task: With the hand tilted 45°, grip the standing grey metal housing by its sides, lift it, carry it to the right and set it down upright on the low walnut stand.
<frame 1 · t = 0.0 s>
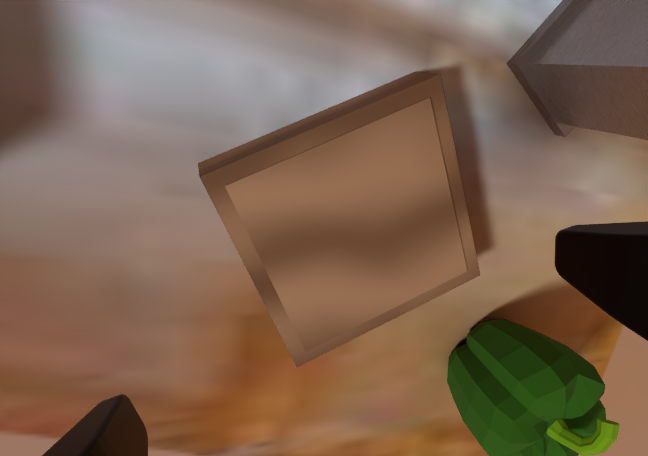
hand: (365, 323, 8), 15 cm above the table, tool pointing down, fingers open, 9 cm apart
housing: (568, 60, 25), on the table
stand: (345, 217, 24), on the table
bell pepper: (478, 349, 32), on the table
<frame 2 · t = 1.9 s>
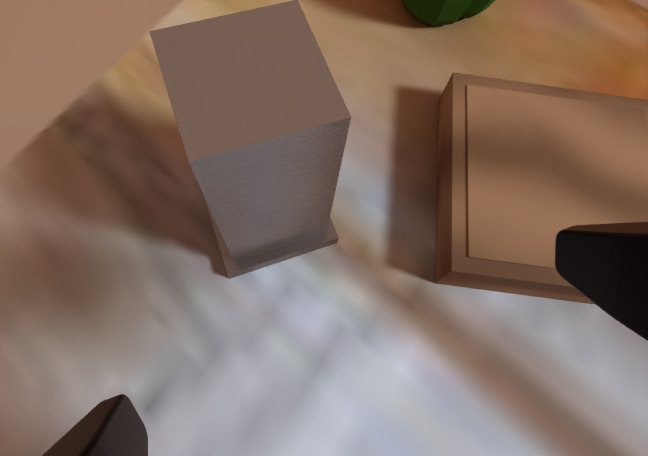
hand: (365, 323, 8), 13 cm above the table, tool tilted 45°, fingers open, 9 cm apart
housing: (267, 211, 24), on the table
stand: (537, 197, 25), on the table
bell pepper: (436, 0, 30), on the table
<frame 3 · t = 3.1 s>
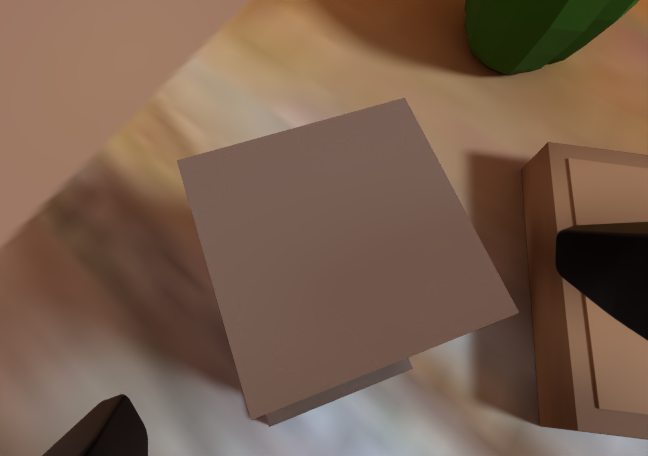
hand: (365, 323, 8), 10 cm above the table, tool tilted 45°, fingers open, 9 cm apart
housing: (315, 326, 18), on the table
bell pepper: (505, 42, 25), on the table
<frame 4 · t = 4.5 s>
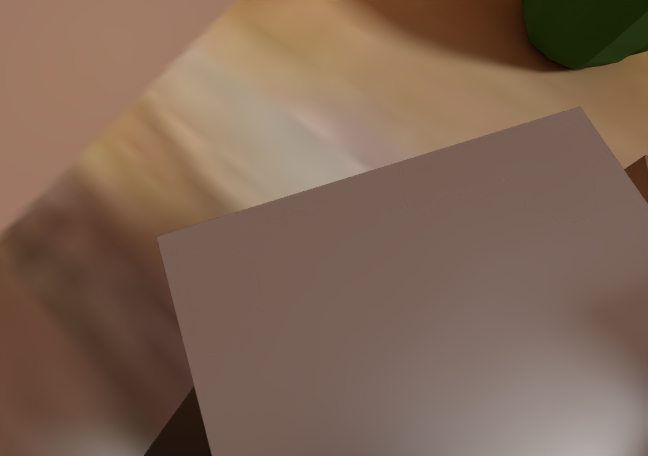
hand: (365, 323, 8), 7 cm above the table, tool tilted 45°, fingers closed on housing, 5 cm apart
housing: (351, 395, 14), on the table, touching gripper
bell pepper: (567, 30, 21), on the table
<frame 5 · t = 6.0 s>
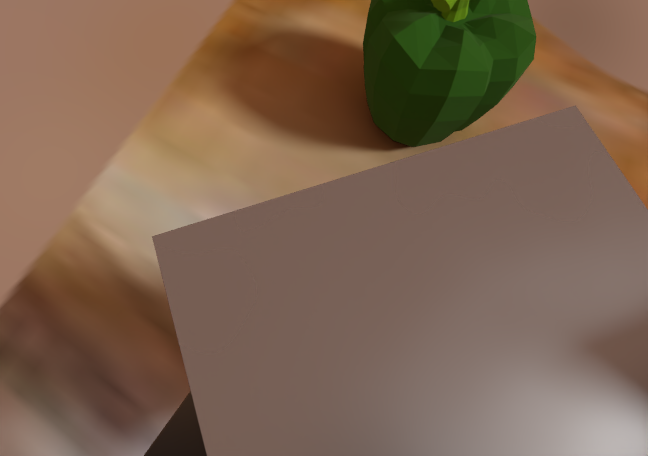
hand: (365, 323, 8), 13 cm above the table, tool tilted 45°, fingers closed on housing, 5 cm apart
housing: (350, 395, 14), point 7 cm above the table, touching gripper
bell pepper: (411, 110, 27), on the table
when the fingers open (10 cm above the table, at t = 7.6 s): housing drops 1 cm, resting on stand.
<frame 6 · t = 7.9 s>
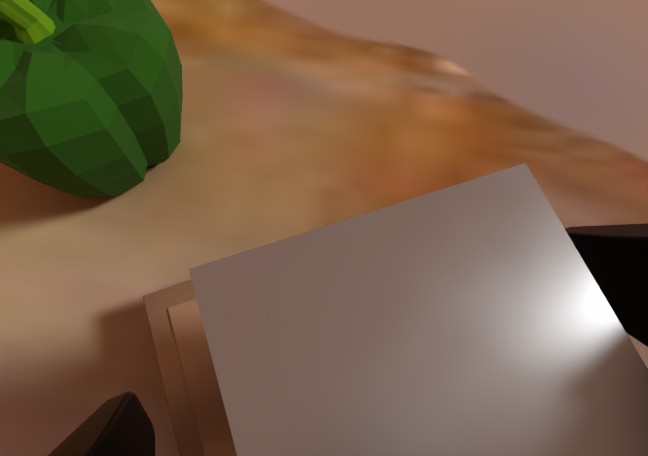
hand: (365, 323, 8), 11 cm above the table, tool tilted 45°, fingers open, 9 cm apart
housing: (347, 394, 15), point 3 cm above the table, touching stand
stand: (340, 394, 18), on the table
bell pepper: (118, 146, 22), on the table
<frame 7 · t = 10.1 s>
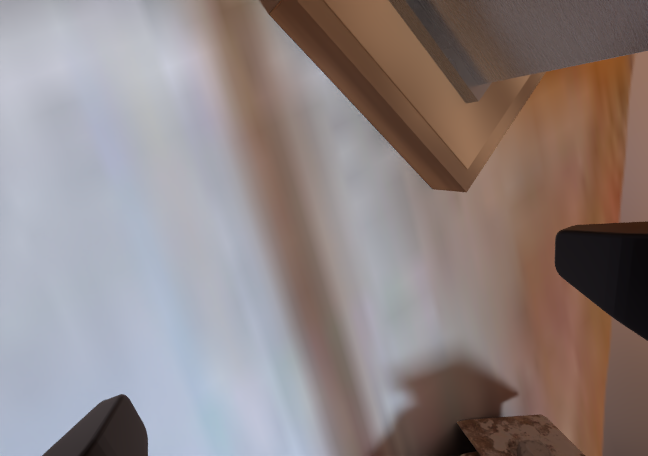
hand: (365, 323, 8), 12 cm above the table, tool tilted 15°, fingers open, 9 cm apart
housing: (465, 6, 19), point 3 cm above the table, touching stand
stand: (427, 22, 22), on the table
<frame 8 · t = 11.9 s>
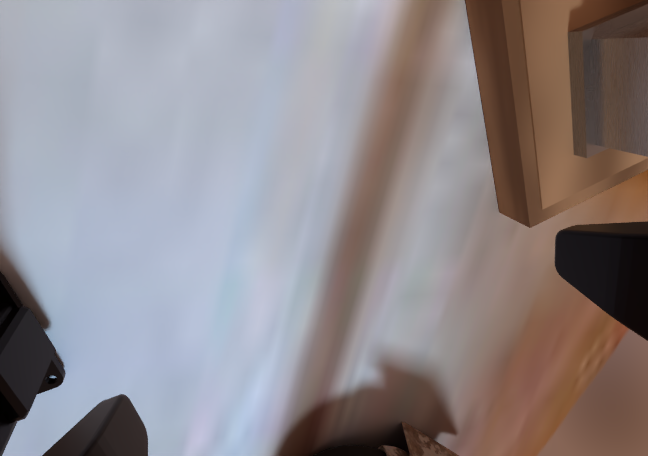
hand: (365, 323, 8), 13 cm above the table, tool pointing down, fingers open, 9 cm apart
housing: (621, 75, 21), point 3 cm above the table, touching stand
stand: (578, 73, 23), on the table
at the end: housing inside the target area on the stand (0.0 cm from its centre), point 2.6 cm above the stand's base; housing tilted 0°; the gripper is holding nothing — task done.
